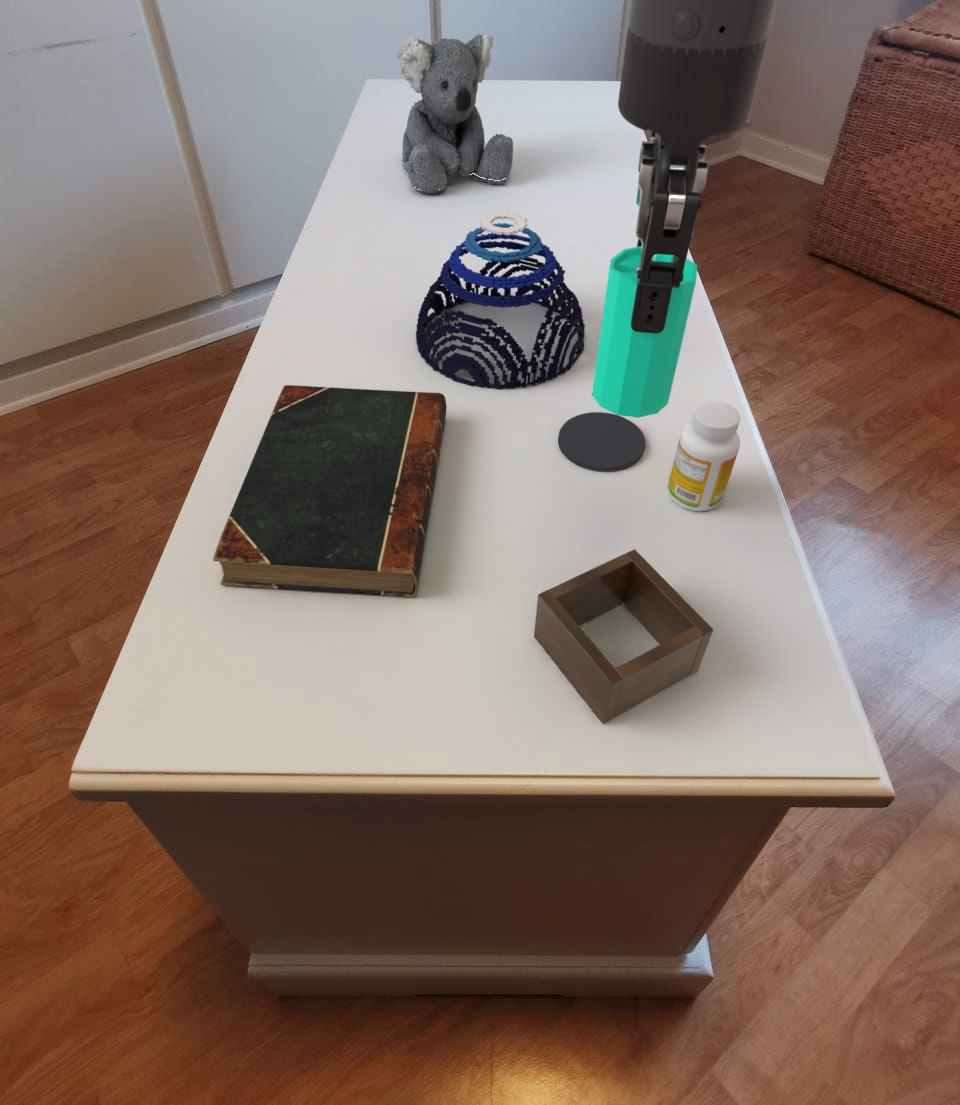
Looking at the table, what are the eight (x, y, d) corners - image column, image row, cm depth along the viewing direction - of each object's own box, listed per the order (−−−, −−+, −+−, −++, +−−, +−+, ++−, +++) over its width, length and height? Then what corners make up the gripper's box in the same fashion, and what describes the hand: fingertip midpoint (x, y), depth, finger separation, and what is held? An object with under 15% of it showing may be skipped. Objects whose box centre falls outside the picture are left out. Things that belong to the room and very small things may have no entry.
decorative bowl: (385, 360, 91) (374, 241, 80) (463, 283, 103) (461, 171, 92) (542, 407, 85) (552, 285, 74) (605, 319, 97) (621, 204, 86)
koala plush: (415, 201, 120) (407, 56, 105) (381, 158, 131) (370, 22, 116) (518, 184, 124) (524, 43, 110) (476, 144, 135) (477, 11, 121)
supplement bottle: (714, 474, 78) (738, 394, 70) (729, 511, 74) (756, 431, 67) (661, 476, 77) (680, 396, 70) (673, 514, 74) (695, 434, 67)
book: (289, 410, 84) (219, 586, 67) (282, 383, 82) (209, 558, 65) (447, 419, 83) (418, 598, 67) (447, 391, 81) (415, 571, 64)
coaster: (609, 407, 85) (610, 402, 84) (662, 453, 80) (663, 448, 79) (541, 433, 82) (541, 428, 81) (591, 483, 77) (592, 478, 76)
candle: (626, 427, 57) (655, 275, 48) (575, 387, 60) (593, 237, 51) (685, 399, 59) (723, 249, 50) (633, 362, 63) (659, 215, 54)
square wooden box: (625, 591, 67) (634, 548, 63) (698, 670, 62) (714, 629, 58) (533, 636, 64) (537, 594, 60) (602, 724, 58) (612, 684, 54)
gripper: (785, 67, 37) (705, 368, 49) (757, -8, 46) (696, 260, 59) (625, 59, 37) (587, 358, 50) (630, -14, 47) (597, 252, 59)
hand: (646, 304), depth 54 cm, fingers closed on candle, 6 cm apart
